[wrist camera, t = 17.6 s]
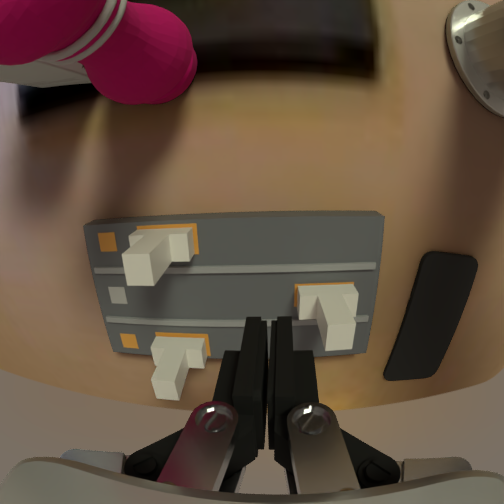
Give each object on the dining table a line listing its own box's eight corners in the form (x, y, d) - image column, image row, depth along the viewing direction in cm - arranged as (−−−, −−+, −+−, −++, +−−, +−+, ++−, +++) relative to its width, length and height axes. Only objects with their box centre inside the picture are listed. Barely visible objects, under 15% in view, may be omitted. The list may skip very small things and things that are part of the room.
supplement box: (104, 84, 21) (0, 57, 9) (42, 88, 21) (-59, 79, 9) (122, 9, 18) (42, -52, 6) (59, 20, 18) (-28, -15, 6)
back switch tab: (204, 338, 25) (192, 382, 20) (207, 356, 26) (196, 401, 21) (156, 336, 26) (134, 377, 20) (160, 354, 26) (141, 396, 21)
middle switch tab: (352, 283, 23) (375, 321, 18) (350, 306, 24) (370, 347, 19) (297, 285, 23) (307, 326, 18) (296, 308, 24) (305, 352, 19)
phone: (380, 381, 29) (425, 251, 24) (378, 376, 30) (420, 248, 25) (434, 377, 29) (481, 258, 24) (431, 373, 30) (476, 255, 25)
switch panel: (375, 211, 24) (385, 217, 21) (360, 340, 28) (366, 354, 26) (94, 219, 25) (81, 226, 22) (120, 340, 29) (112, 353, 27)
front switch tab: (192, 227, 22) (170, 253, 17) (194, 253, 23) (175, 285, 17) (137, 229, 22) (103, 254, 17) (140, 254, 23) (109, 285, 18)
